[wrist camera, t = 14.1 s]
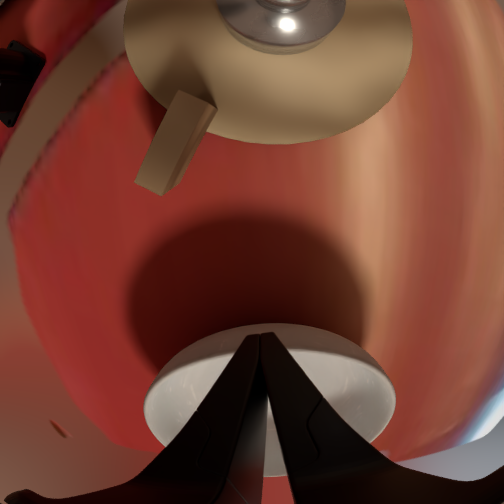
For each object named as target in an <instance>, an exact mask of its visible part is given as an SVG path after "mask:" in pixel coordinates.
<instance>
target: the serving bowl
mask: <svg viewBox="0 0 504 504" xmlns="http://www.w3.org/2000/svg"><path fill="white" fill-rule="evenodd" d="M265 332H274V333H275V334H276V335H277V337H278V338H279V339H280V341H281V342H282V343H283V345H284V346H285V347H286V349H287V350H288V351H289V353H290V354H291V355H292V356H293V358H294V359H295V360H296V362H297V363H298V364H299V366H300V367H301V368H302V369H303V371H304V372H305V373H306V375H307V376H308V377H309V378H310V380H311V381H312V382H313V384H314V385H315V386H316V387H317V389H318V390H319V391H320V392H321V394H322V395H323V397H324V398H325V399H326V400H327V401H328V402H329V404H330V405H331V406H332V407H333V408H334V410H335V411H336V412H337V413H338V414H339V415H340V416H341V418H342V419H343V420H344V421H346V422H347V423H348V424H349V425H350V426H351V427H352V428H353V429H354V430H355V431H356V432H357V433H358V434H360V435H361V436H362V437H363V438H364V439H365V440H366V441H368V442H369V443H371V442H372V441H373V440H374V439H375V438H376V437H377V436H378V435H379V434H380V433H381V432H382V431H383V430H384V428H385V427H386V426H387V424H388V422H389V421H390V419H391V417H392V415H393V413H394V409H395V404H396V395H395V390H394V387H393V384H392V382H391V381H390V379H389V377H388V376H387V375H386V373H385V372H384V370H383V369H382V367H381V366H380V365H379V364H378V363H377V361H376V360H375V359H374V358H373V357H372V356H371V355H370V354H369V353H367V352H366V351H365V350H364V349H362V348H361V347H360V346H358V345H357V344H355V343H353V342H352V341H350V340H348V339H346V338H344V337H342V336H340V335H338V334H335V333H332V332H329V331H327V330H323V329H319V328H315V327H311V326H305V325H297V324H286V323H266V324H254V325H247V326H240V327H236V328H232V329H228V330H224V331H221V332H218V333H215V334H212V335H209V336H207V337H205V338H202V339H200V340H198V341H196V342H195V343H193V344H191V345H189V346H188V347H186V348H184V349H183V350H182V351H180V352H179V353H178V354H176V355H175V356H174V357H173V358H172V359H171V360H170V361H169V362H168V363H167V364H166V365H165V366H164V367H163V368H162V369H161V371H160V372H159V373H158V375H157V376H156V378H155V379H154V381H153V383H152V384H151V386H150V387H149V389H148V391H147V394H146V396H145V400H144V415H145V419H146V422H147V424H148V426H149V428H150V430H151V431H152V433H153V434H154V435H155V437H156V438H157V439H158V440H159V441H160V442H161V443H162V444H163V445H164V446H165V447H166V446H167V445H168V444H169V443H170V442H171V441H172V440H173V439H174V437H175V436H176V435H177V434H178V433H179V432H180V430H181V429H182V428H183V427H184V425H185V424H186V423H187V421H188V420H189V419H190V417H191V416H192V414H193V413H194V412H195V411H197V408H198V406H199V405H200V403H201V402H202V400H203V399H204V398H205V396H206V395H207V393H208V392H209V390H210V389H211V387H212V386H213V384H214V383H215V382H216V380H217V379H218V377H219V376H220V374H221V373H222V371H223V370H224V368H225V367H226V365H227V364H228V362H229V361H230V359H231V358H232V356H233V355H234V353H235V352H236V350H237V349H238V347H239V346H240V344H241V343H242V341H243V340H244V338H245V337H246V336H247V335H250V334H260V335H261V333H265ZM286 475H287V473H286V469H285V465H284V461H283V457H282V453H281V449H280V445H279V441H278V437H277V432H276V428H275V424H274V420H273V416H272V412H271V407H270V403H269V399H268V414H267V431H266V446H265V461H264V475H263V477H274V476H286Z"/></svg>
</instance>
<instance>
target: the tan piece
mask: <svg viewBox="0 0 504 504" xmlns="http://www.w3.org/2000/svg"><path fill="white" fill-rule="evenodd" d="M123 33H124V43H125V48H126V52H127V56H128V59H129V62H130V64H131V66H132V68H133V70H134V72H135V74H136V76H137V78H138V79H139V80H140V82H141V83H142V85H143V86H144V88H145V89H146V90H147V91H148V92H149V93H150V94H151V95H152V96H153V98H154V99H155V100H156V101H157V102H158V103H160V104H161V105H162V106H163V107H165V108H166V109H167V112H166V114H165V116H164V118H163V120H162V122H161V124H160V126H159V128H158V130H157V132H156V134H155V136H154V138H153V140H152V143H151V145H150V147H149V149H148V151H147V154H146V156H145V158H144V160H143V163H142V165H141V167H140V170H139V172H138V174H137V177H136V179H135V182H134V183H136V184H138V185H140V186H142V187H144V188H146V189H148V190H150V191H152V192H154V193H156V194H158V195H160V196H162V195H164V194H165V193H166V192H168V191H169V190H171V189H172V188H173V187H175V186H176V185H177V184H179V183H180V181H181V179H182V177H183V175H184V173H185V171H186V169H187V167H188V165H189V163H190V161H191V159H192V157H193V155H194V153H195V151H196V149H197V147H198V146H199V144H200V142H201V140H202V138H203V136H204V134H205V132H206V131H207V132H210V133H213V134H216V135H219V136H222V137H225V138H230V139H235V140H239V141H244V142H251V143H262V144H294V143H302V142H311V141H315V140H319V139H323V138H327V137H331V136H334V135H336V134H339V133H342V132H345V131H347V130H349V129H351V128H353V127H355V126H357V125H359V124H361V123H363V122H364V121H366V120H367V119H369V118H370V117H371V116H373V115H374V114H376V113H377V112H378V111H379V110H380V109H381V108H382V107H383V106H384V105H385V104H386V103H388V102H389V101H390V99H391V98H392V97H393V95H394V94H395V93H396V91H397V90H398V89H399V87H400V85H401V83H402V81H403V79H404V77H405V75H406V73H407V70H408V67H409V64H410V60H411V53H412V27H411V22H410V17H409V14H408V11H407V8H406V5H405V2H404V0H346V8H345V12H344V15H343V17H342V19H341V20H340V22H339V23H338V25H337V26H336V27H335V28H334V29H333V30H332V32H331V33H330V34H329V35H328V36H327V38H326V39H325V40H324V41H323V42H321V43H320V44H319V45H317V46H316V47H314V48H312V49H310V50H308V51H305V52H302V53H298V54H292V55H273V54H267V53H262V52H259V51H256V50H253V49H251V48H249V47H247V46H245V45H243V44H241V43H240V42H239V41H237V40H236V39H235V38H234V37H233V36H232V35H231V34H230V33H229V32H228V31H227V29H226V28H225V26H224V24H223V22H222V19H221V16H220V13H219V9H218V6H217V2H216V0H128V3H127V7H126V11H125V15H124V27H123Z"/></svg>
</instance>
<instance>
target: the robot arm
mask: <svg viewBox="0 0 504 504" xmlns="http://www.w3.org/2000/svg"><path fill="white" fill-rule="evenodd" d="M39 63H40V65H39ZM44 65H45V60H44V59H43V58H41V57H40V56H39V55H37V54H36V53H34V52H33V51H31V50H30V49H28V48H27V47H25V46H24V45H22V44H21V43H19V42H18V41H15V40H13V41H11V42H10V44H9V45H8V47H7V49H4V48H0V120H1V121H2V122H3V123H4V124H5V125H6V126H7V127H8V128H9V127H13V126H14V125H15V123H16V120H17V118H18V116H19V113H20V111H21V109H22V107H23V105H24V103H25V101H26V99H27V97H28V95H29V93H30V91H31V89H32V87H33V85H34V83H35V81H36V79H37V78H38V76H39V74H40V72H41V71H42V69H43V67H44ZM268 399H269V403H270V407H271V412H272V416H273V420H274V424H275V428H276V432H277V437H278V441H279V445H280V449H281V453H282V457H283V461H284V465H285V469H286V473H287V477H288V481H289V485H290V489H291V493H292V497H293V500H294V504H504V465H503V466H502V467H500V468H499V469H497V470H496V471H494V472H493V473H491V474H490V475H488V476H486V477H485V478H482V479H479V480H475V481H457V480H452V479H448V478H443V477H439V476H435V475H431V474H427V473H423V472H419V471H416V470H412V469H409V468H405V467H402V466H400V465H398V464H396V463H394V462H392V461H391V460H389V459H388V458H387V457H385V456H384V455H383V454H381V453H380V452H379V451H378V450H377V449H376V448H375V447H373V446H372V445H371V444H370V443H369V442H368V441H366V440H365V439H364V438H363V437H362V436H361V435H360V434H358V433H357V432H356V431H355V430H354V429H353V428H352V427H351V426H350V425H349V424H348V423H347V422H346V421H344V420H343V419H342V418H341V416H340V415H339V414H338V413H337V412H336V411H335V410H334V408H333V407H332V406H331V405H330V404H329V402H328V401H327V400H326V399H325V398H324V397H323V395H322V394H321V392H320V391H319V390H318V389H317V387H316V386H315V385H314V384H313V382H312V381H311V380H310V378H309V377H308V376H307V375H306V373H305V372H304V371H303V369H302V368H301V367H300V366H299V364H298V363H297V362H296V360H295V359H294V358H293V356H292V355H291V354H290V353H289V351H288V350H287V349H286V347H285V346H284V345H283V343H282V342H281V341H280V339H279V338H278V337H277V335H276V334H275V333H274V332H265V333H261V335H260V334H250V335H247V336H246V337H245V338H244V340H243V341H242V343H241V344H240V346H239V347H238V349H237V350H236V352H235V353H234V355H233V356H232V358H231V359H230V361H229V362H228V364H227V365H226V367H225V368H224V370H223V371H222V373H221V374H220V376H219V377H218V379H217V380H216V382H215V383H214V384H213V386H212V387H211V389H210V390H209V392H208V393H207V395H206V396H205V398H204V399H203V400H202V402H201V403H200V405H199V406H198V408H197V411H195V412H194V413H193V414H192V416H191V417H190V419H189V420H188V421H187V423H186V424H185V425H184V427H183V428H182V429H181V430H180V432H179V433H178V434H177V435H176V436H175V437H174V439H173V440H172V441H171V442H170V443H169V444H168V445H167V446H166V447H165V448H164V449H163V450H162V451H161V452H160V453H159V454H158V455H157V457H156V458H155V459H154V460H153V461H152V462H151V463H150V464H149V465H148V466H147V467H146V468H145V469H144V470H143V471H141V472H140V473H139V474H138V475H137V476H135V477H134V478H133V479H131V480H129V481H128V482H126V483H123V484H121V485H117V486H114V487H110V488H107V489H103V490H100V491H96V492H92V493H87V494H83V495H78V496H74V497H69V498H63V499H52V498H46V497H43V496H41V495H39V494H37V493H35V492H33V491H31V490H29V489H24V490H21V491H16V492H13V493H11V494H9V495H8V496H7V497H6V498H5V499H4V501H5V502H6V503H8V504H261V499H262V487H263V475H264V461H265V446H266V431H267V414H268ZM0 504H1V503H0Z"/></svg>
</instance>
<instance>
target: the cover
mask: <svg viewBox="0 0 504 504" xmlns="http://www.w3.org/2000/svg"><path fill="white" fill-rule="evenodd" d="M216 2H217V6H218V9H219V13H220V16H221V19H222V22H223V24H224V26H225V28H226V29H227V31H228V32H229V33H230V34H231V35H232V36H233V37H234V38H235V39H236V40H237V41H239V42H240V43H241V44H243V45H245V46H247V47H249V48H251V49H253V50H256V51H259V52H262V53H267V54H273V55H292V54H298V53H302V52H305V51H308V50H310V49H312V48H314V47H316V46H317V45H319V44H320V43H321V42H323V41H324V40H325V39H326V38H327V36H328V35H329V34H330V33H331V32H332V30H333V29H334V28H335V27H336V26H337V25H338V23H339V22H340V20H341V19H342V17H343V15H344V12H345V8H346V0H216Z"/></svg>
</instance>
